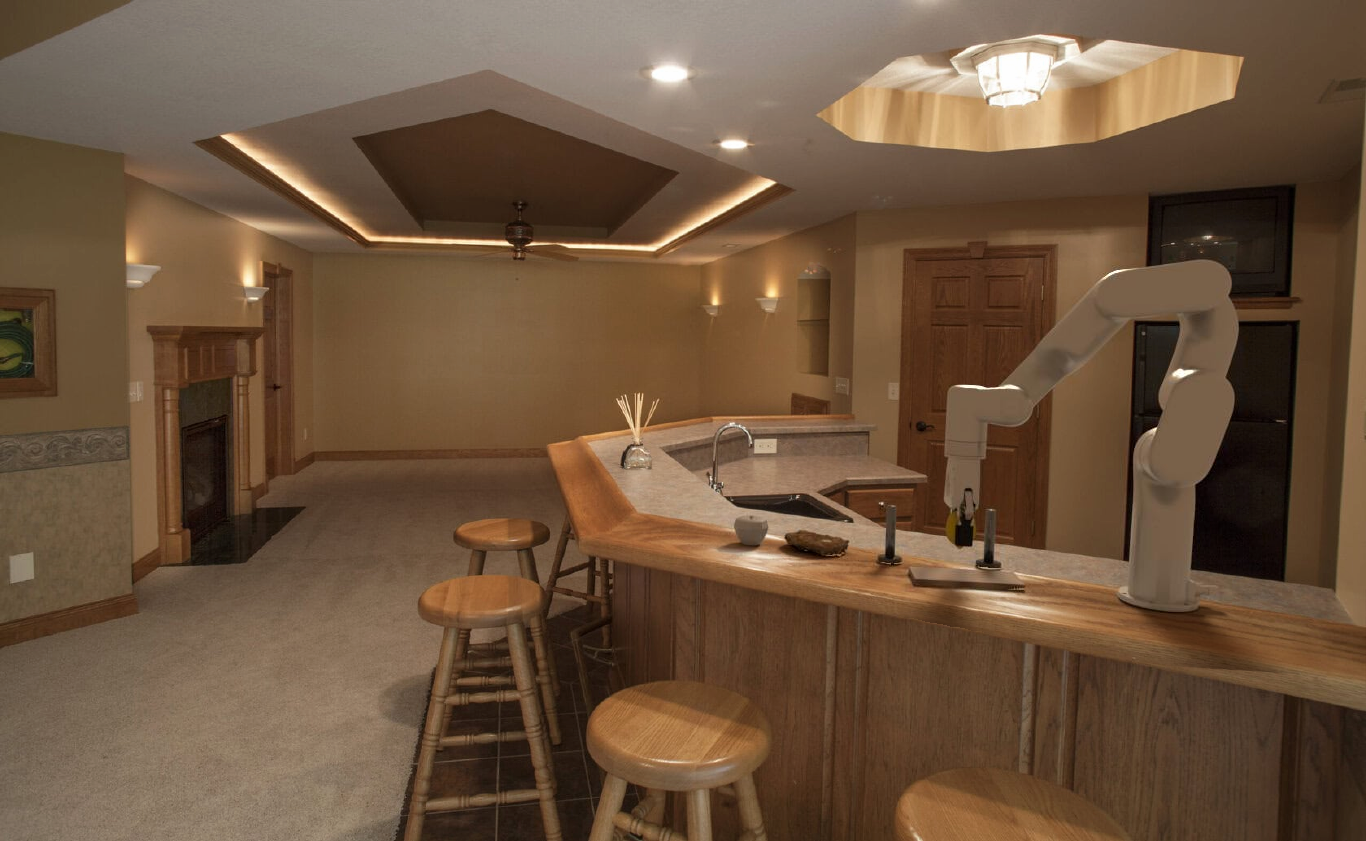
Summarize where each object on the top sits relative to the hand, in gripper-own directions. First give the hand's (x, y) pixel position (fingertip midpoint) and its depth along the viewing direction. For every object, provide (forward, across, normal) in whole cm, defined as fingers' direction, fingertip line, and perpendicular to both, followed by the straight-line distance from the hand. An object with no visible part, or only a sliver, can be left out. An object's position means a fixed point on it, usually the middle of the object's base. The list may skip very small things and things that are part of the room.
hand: (960, 541), depth 156 cm
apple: (+8, -22, -42) cm, 48 cm away
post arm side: (+8, -12, +8) cm, 16 cm away
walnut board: (+8, 0, +1) cm, 8 cm away
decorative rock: (+9, -19, -28) cm, 35 cm away
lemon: (+2, 0, 0) cm, 2 cm away
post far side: (+8, -12, -12) cm, 19 cm away
